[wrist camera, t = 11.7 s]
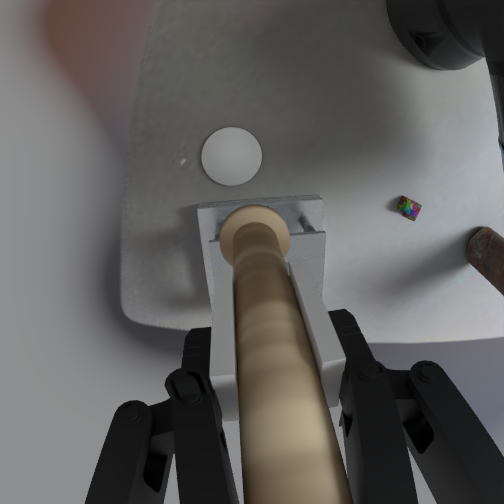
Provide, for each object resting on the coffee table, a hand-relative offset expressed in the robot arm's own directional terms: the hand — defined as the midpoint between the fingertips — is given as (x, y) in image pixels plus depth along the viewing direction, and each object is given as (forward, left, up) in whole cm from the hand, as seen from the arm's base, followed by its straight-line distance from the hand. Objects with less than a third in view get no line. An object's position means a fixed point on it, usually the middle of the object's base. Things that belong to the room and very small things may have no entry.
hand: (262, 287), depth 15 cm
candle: (+13, +40, -24) cm, 49 cm away
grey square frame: (+11, +2, -24) cm, 27 cm away
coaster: (-2, -1, -24) cm, 24 cm away
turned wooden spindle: (0, 0, -6) cm, 6 cm away
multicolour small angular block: (+5, +23, -25) cm, 34 cm away
